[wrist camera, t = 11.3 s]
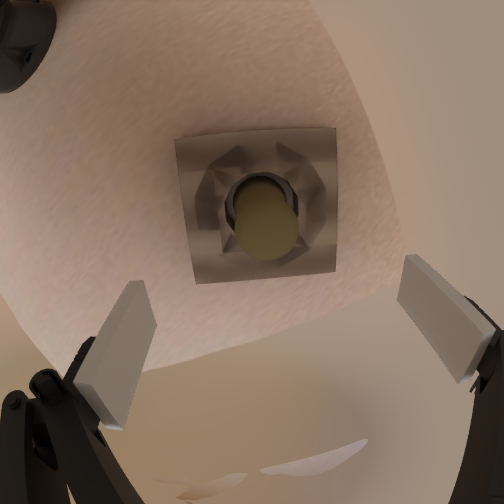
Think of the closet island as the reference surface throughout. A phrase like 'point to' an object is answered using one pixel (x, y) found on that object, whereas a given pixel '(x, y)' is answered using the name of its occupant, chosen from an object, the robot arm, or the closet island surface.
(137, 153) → the closet island surface
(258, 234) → the olive green knobbed peg
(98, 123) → the closet island surface
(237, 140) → the socket block
